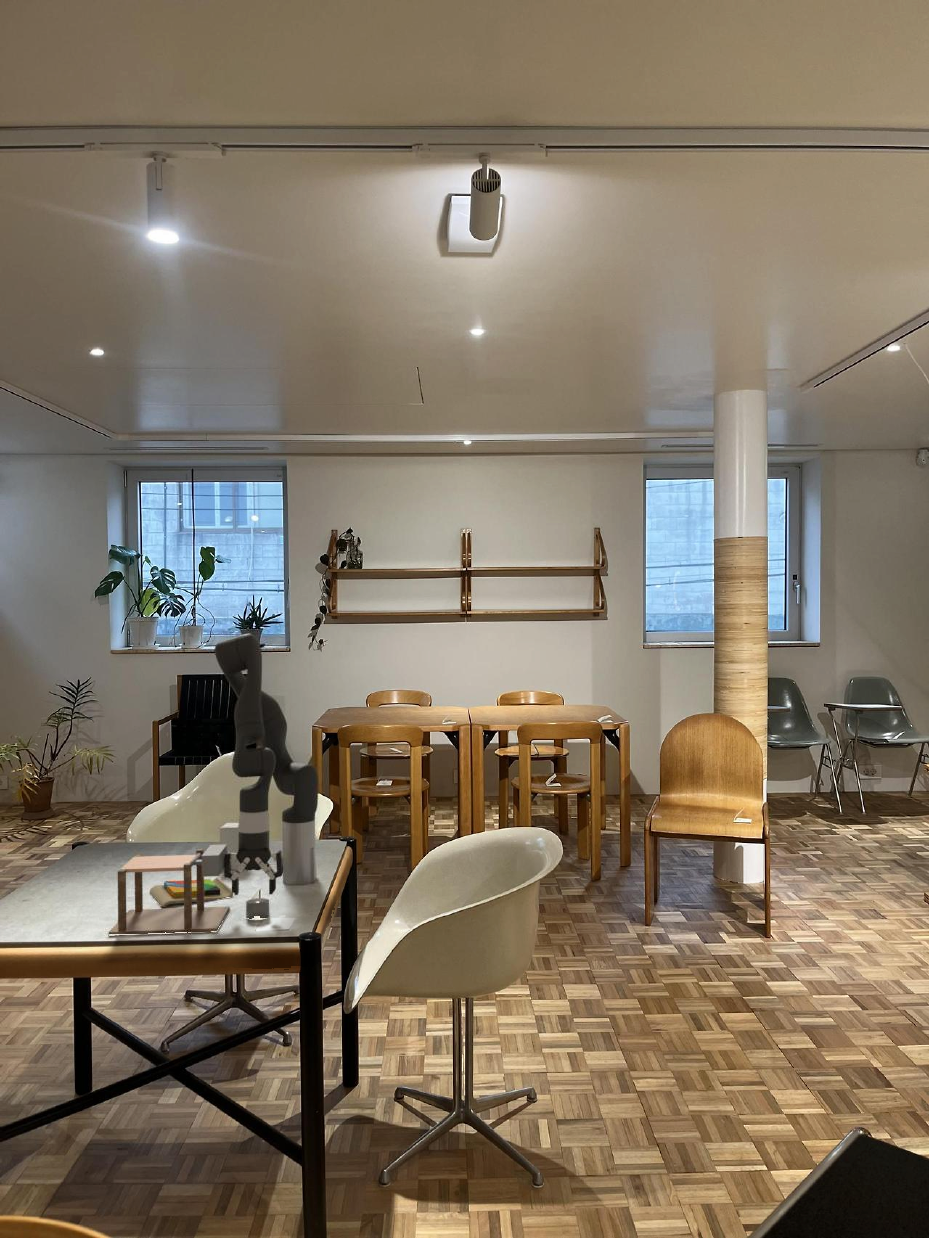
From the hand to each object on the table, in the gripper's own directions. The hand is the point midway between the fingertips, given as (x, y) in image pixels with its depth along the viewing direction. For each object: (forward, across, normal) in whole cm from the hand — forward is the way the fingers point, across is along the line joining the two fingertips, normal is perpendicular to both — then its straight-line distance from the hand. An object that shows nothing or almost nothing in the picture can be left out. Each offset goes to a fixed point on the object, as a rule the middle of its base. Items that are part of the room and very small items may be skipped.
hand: (253, 894), depth 230 cm
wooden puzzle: (+7, +20, -22) cm, 31 cm away
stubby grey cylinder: (+6, -1, 0) cm, 6 cm away
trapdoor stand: (+6, +19, +2) cm, 21 cm away
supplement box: (+6, +14, -50) cm, 52 cm away
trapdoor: (-6, +19, +2) cm, 20 cm away
